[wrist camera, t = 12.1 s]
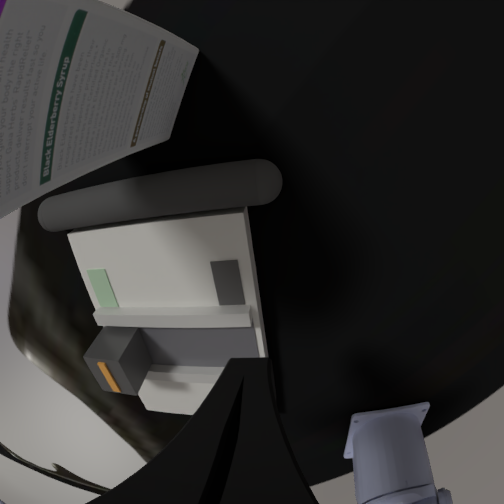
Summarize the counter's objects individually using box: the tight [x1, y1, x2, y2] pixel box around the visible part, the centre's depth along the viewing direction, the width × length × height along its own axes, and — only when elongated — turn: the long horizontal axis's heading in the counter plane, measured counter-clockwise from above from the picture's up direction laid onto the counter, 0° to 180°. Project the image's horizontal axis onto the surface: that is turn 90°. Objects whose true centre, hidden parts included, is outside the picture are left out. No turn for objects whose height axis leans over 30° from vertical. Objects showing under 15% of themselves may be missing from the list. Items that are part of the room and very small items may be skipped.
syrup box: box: [0, 0, 199, 219], centre depth 9 cm, size 6×6×14 cm
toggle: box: [83, 326, 153, 395], centre depth 20 cm, size 3×3×4 cm
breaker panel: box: [67, 206, 269, 415], centre depth 21 cm, size 18×12×2 cm, turn 7°
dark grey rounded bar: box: [38, 159, 282, 232], centre depth 17 cm, size 2×16×2 cm, turn 98°
